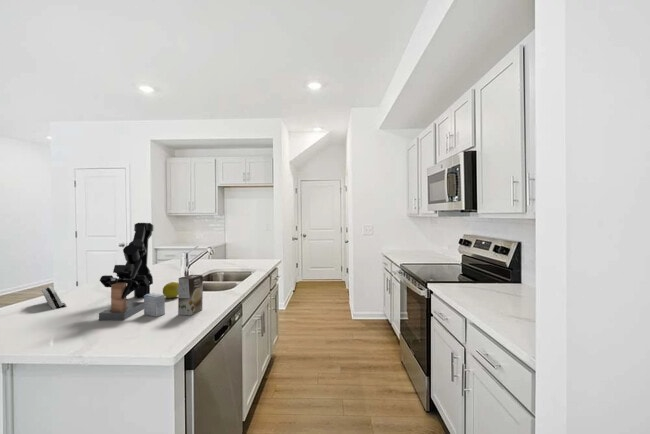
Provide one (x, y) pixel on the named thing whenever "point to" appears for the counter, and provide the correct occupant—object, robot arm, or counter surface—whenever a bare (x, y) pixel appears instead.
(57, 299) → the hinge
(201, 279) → the coffee box
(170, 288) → the lemon
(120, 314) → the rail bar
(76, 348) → the counter surface
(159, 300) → the medicine box
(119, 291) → the square peg
